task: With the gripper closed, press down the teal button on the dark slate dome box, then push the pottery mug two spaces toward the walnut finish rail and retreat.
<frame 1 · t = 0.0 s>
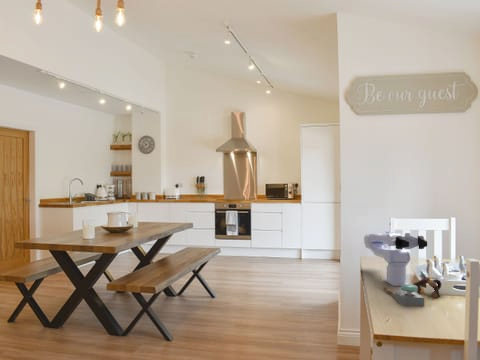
hand: (417, 243, 169), 22 cm above the table, tool horizontal, fingers open, 7 cm apart
finish rail: (391, 294, 171), on the table
dome box: (409, 302, 162), on the table
dome button: (409, 291, 161), point 4 cm above the table, slide at 0.0 cm
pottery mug: (428, 295, 172), on the table
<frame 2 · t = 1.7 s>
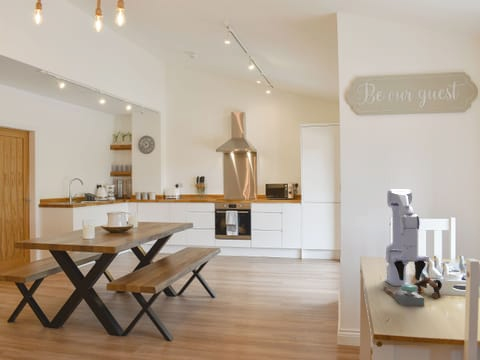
hand: (409, 279, 161), 9 cm above the table, tool pointing down, fingers open, 6 cm apart
nothing on the table moved.
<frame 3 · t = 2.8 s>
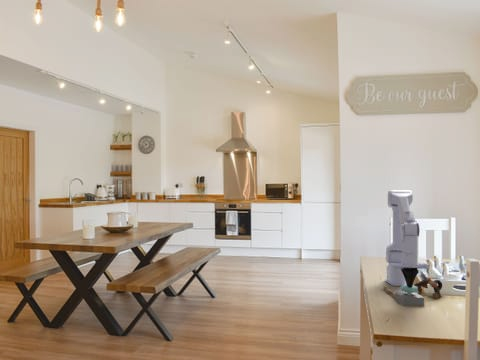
hand: (409, 286, 161), 6 cm above the table, tool pointing down, fingers closed, pressing on dome button
dome button: (409, 292, 161), point 4 cm above the table, slide at -0.2 cm, touching gripper
everything else where it was.
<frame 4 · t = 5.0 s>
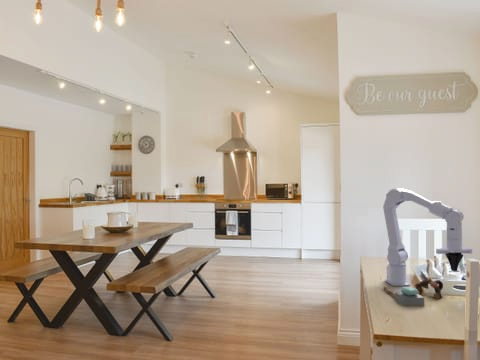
hand: (454, 270, 172), 10 cm above the table, tool pointing down, fingers closed
dome button: (409, 294, 161), point 3 cm above the table, slide at -1.2 cm
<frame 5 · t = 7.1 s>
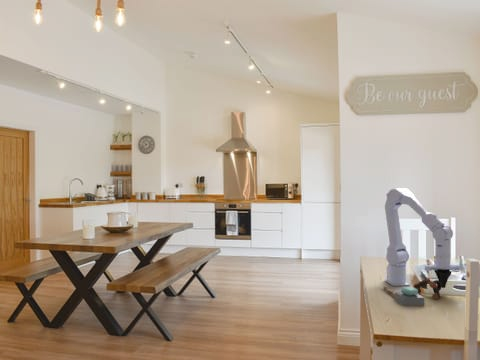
hand: (442, 287, 172), 3 cm above the table, tool pointing down, fingers closed
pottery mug: (429, 296, 170), on the table, touching gripper
everything else where it was.
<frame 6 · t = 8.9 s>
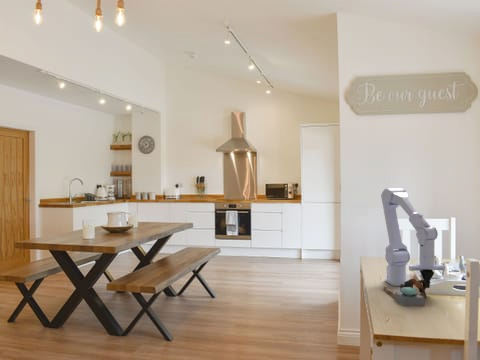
hand: (426, 287, 172), 3 cm above the table, tool pointing down, fingers closed, pressing on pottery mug
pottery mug: (415, 296, 170), on the table, touching dome box, gripper
everything else where it was.
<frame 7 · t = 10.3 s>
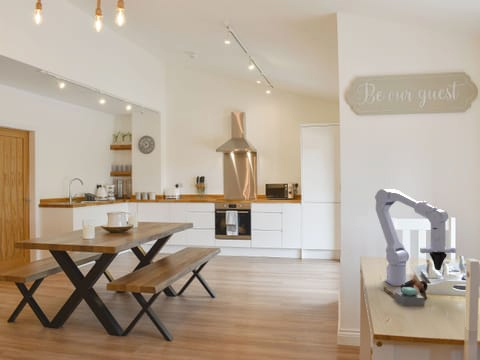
hand: (437, 269, 174), 10 cm above the table, tool pointing down, fingers closed
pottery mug: (415, 297, 169), on the table
everything else where it was.
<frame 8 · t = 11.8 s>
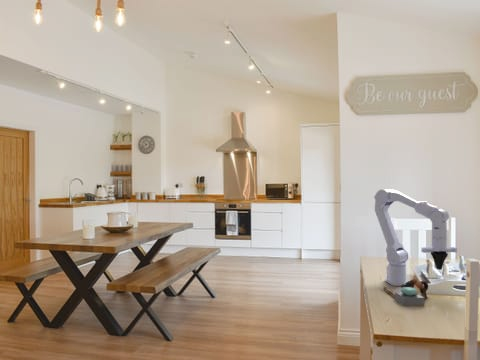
hand: (438, 269, 175), 10 cm above the table, tool pointing down, fingers closed
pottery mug: (416, 297, 169), on the table, touching dome box
everything else where it was.
at the end: dome button slide at -1.2 cm; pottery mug inside the target area (2.7 cm from its centre), on the table; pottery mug tilted 2° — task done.
